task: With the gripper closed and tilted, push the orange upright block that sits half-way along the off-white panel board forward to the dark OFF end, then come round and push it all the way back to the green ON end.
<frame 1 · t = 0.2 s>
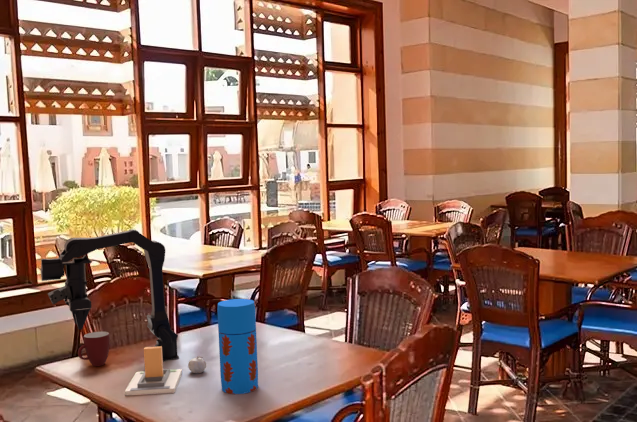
hand: (78, 326, 219), 15 cm above the table, tool pointing down, fingers open, 9 cm apart
mug: (95, 365, 227), on the table
garlic: (197, 372, 216), on the table
panel: (154, 383, 206), on the table
thermos: (239, 388, 200), on the table
orange upright block: (153, 363, 205), point 6 cm above the table, slide at 0.0 cm
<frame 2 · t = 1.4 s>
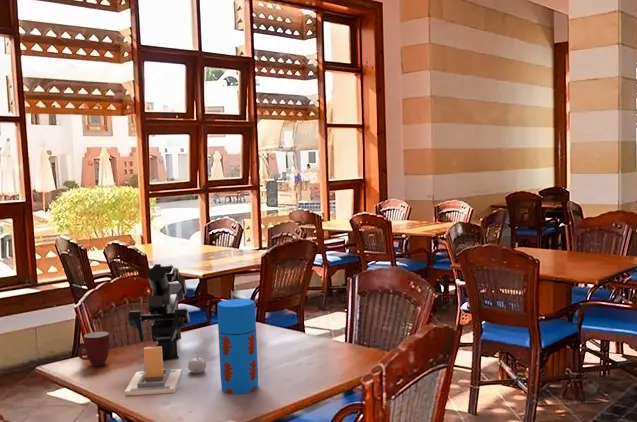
hand: (156, 341, 215), 10 cm above the table, tool tilted 45°, fingers open, 9 cm apart
nothing on the table moved.
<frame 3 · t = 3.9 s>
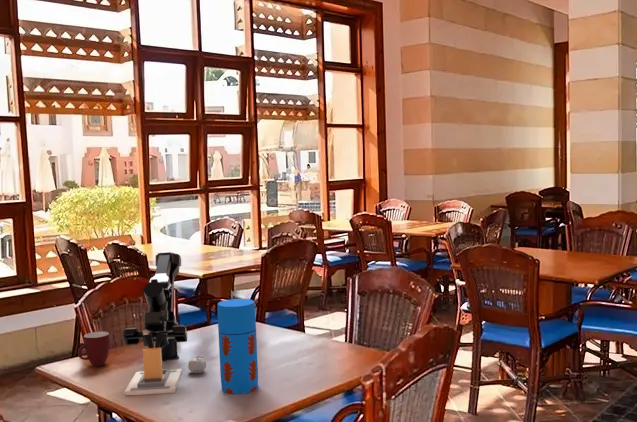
hand: (153, 359, 205), 7 cm above the table, tool tilted 45°, fingers closed, pressing on orange upright block
orange upright block: (152, 364, 204), point 6 cm above the table, slide at 1.4 cm, touching gripper
everything else where it was.
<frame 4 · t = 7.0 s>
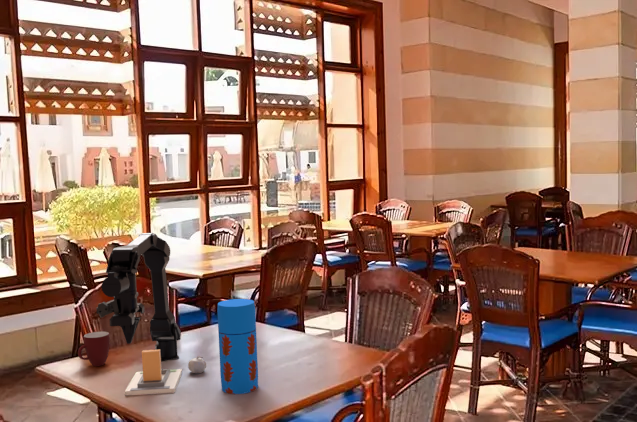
hand: (129, 343, 202), 13 cm above the table, tool pointing down, fingers closed
orange upright block: (151, 366, 202), point 6 cm above the table, slide at 3.3 cm
everything else where it was.
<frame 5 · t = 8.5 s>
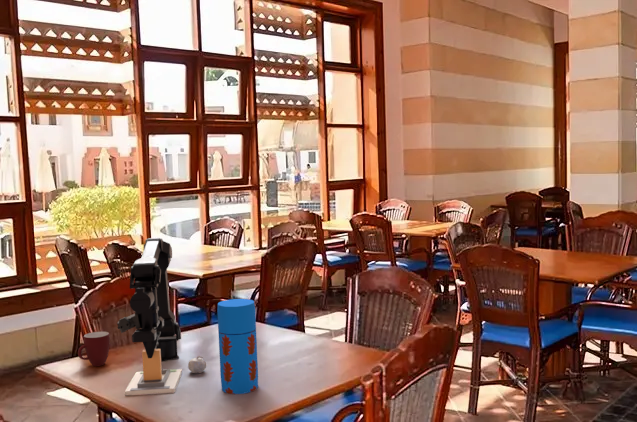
hand: (150, 357, 200), 9 cm above the table, tool pointing down, fingers closed
orange upright block: (152, 366, 203), point 6 cm above the table, slide at 2.7 cm, touching gripper
everything else where it was.
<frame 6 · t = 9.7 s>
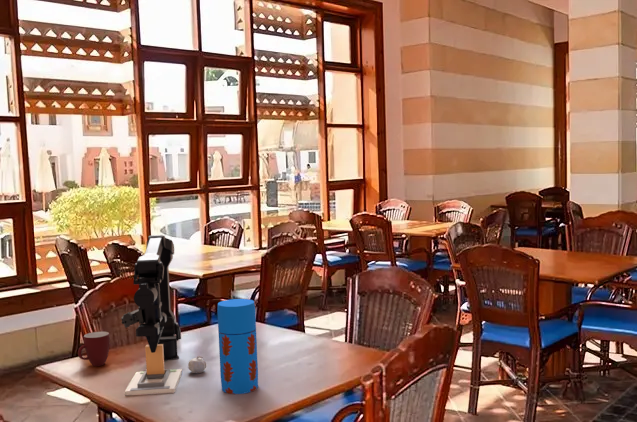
hand: (153, 352, 206), 9 cm above the table, tool pointing down, fingers closed
orange upright block: (155, 360, 208), point 6 cm above the table, slide at -2.6 cm, touching gripper
everything else where it was.
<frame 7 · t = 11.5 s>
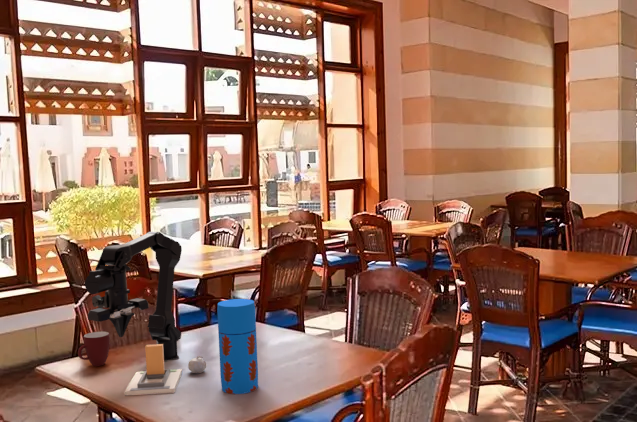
hand: (121, 336, 213), 13 cm above the table, tool pointing down, fingers closed
orange upright block: (155, 360, 208), point 6 cm above the table, slide at -2.6 cm
everything else where it was.
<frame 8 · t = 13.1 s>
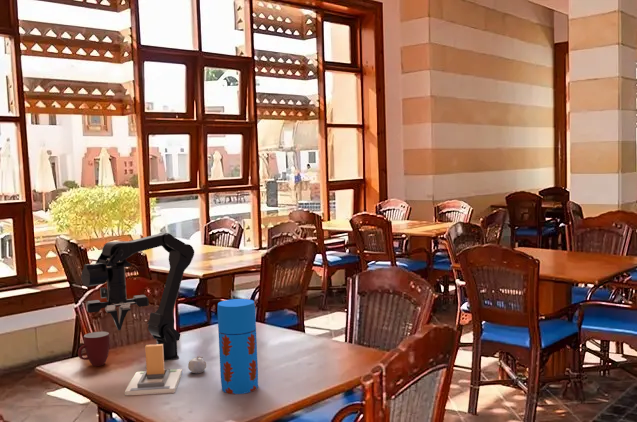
hand: (119, 330, 220), 13 cm above the table, tool pointing down, fingers closed
nothing on the table moved.
at the end: orange upright block slide at -2.6 cm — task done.
